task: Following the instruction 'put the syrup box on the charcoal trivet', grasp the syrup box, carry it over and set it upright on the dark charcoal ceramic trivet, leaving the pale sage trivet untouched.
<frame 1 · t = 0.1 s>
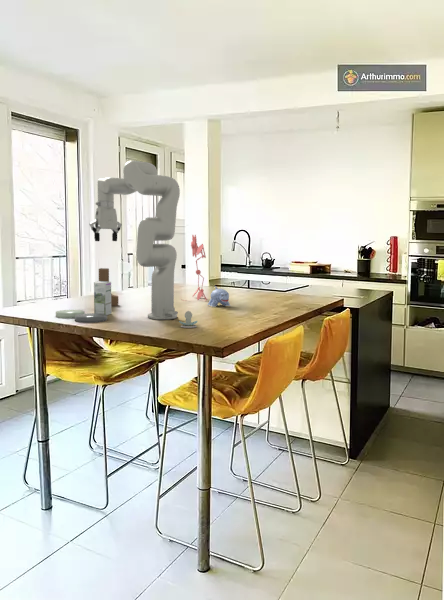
hand: (106, 241, 256), 31 cm above the table, tool pointing down, fingers open, 9 cm apart
charcoal trivet: (91, 320, 219), on the table
pink articulated figure: (192, 299, 289), on the table
hippopotamus toy: (220, 306, 265), on the table
sage trivet: (70, 316, 228), on the table
pacifier: (188, 327, 209), on the table
wooden block: (108, 305, 259), on the table
syrup box: (102, 314, 233), on the table
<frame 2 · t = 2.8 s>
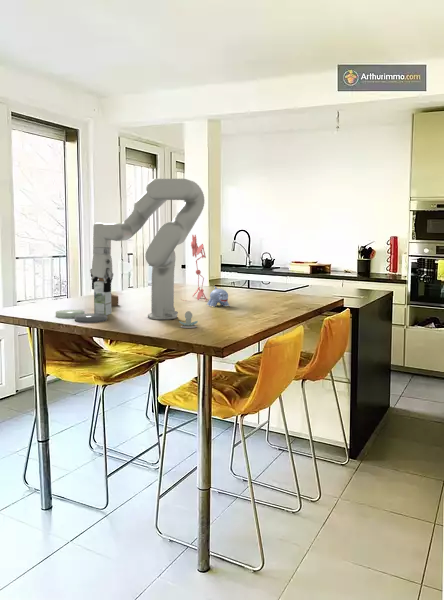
hand: (101, 290, 232), 10 cm above the table, tool pointing down, fingers open, 9 cm apart
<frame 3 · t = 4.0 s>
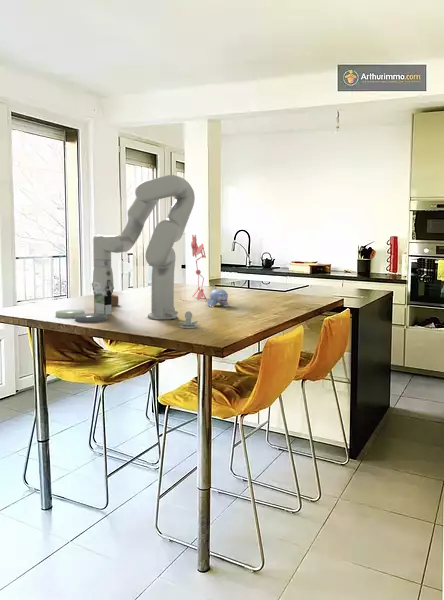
hand: (102, 303, 233), 5 cm above the table, tool pointing down, fingers closed on syrup box, 7 cm apart
syrup box: (102, 314, 233), on the table, touching gripper
everything else where it was.
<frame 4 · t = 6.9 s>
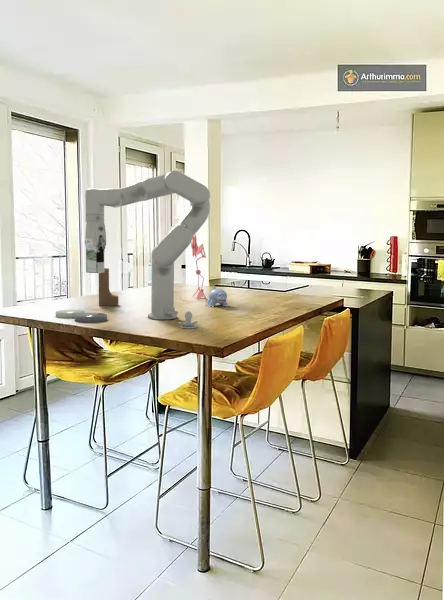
hand: (95, 261, 222), 24 cm above the table, tool pointing down, fingers closed on syrup box, 7 cm apart
syrup box: (95, 273, 222), point 19 cm above the table, touching gripper
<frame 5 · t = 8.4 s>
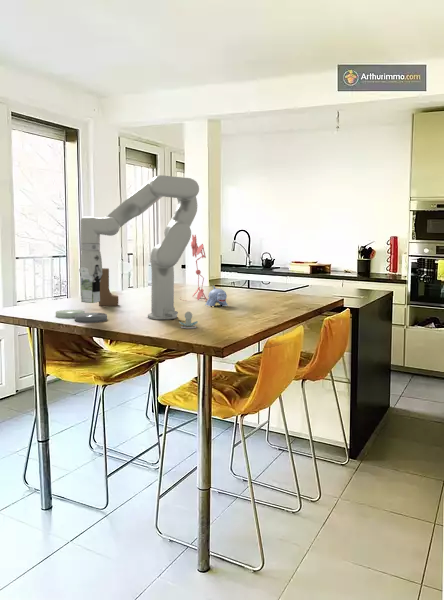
hand: (90, 290, 218), 12 cm above the table, tool pointing down, fingers closed on syrup box, 7 cm apart
syrup box: (90, 302, 218), point 7 cm above the table, touching gripper
when the fingers open (8 cm above the table, at t = 9.9 s): syrup box drops 2 cm, resting on charcoal trivet.
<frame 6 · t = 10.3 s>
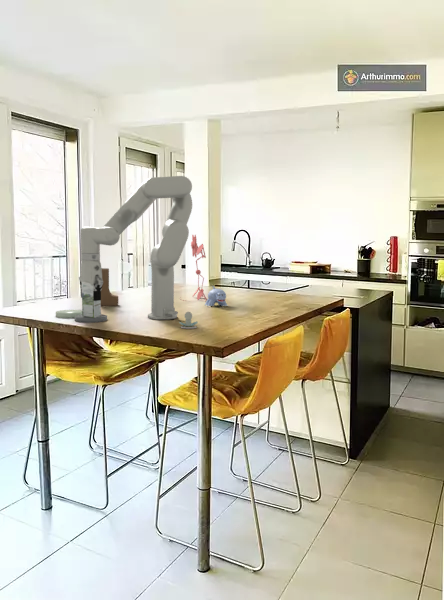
hand: (90, 299, 218), 9 cm above the table, tool pointing down, fingers open, 9 cm apart
charcoal trivet: (91, 321, 220), on the table, touching syrup box
syrup box: (91, 316, 219), point 1 cm above the table, touching charcoal trivet
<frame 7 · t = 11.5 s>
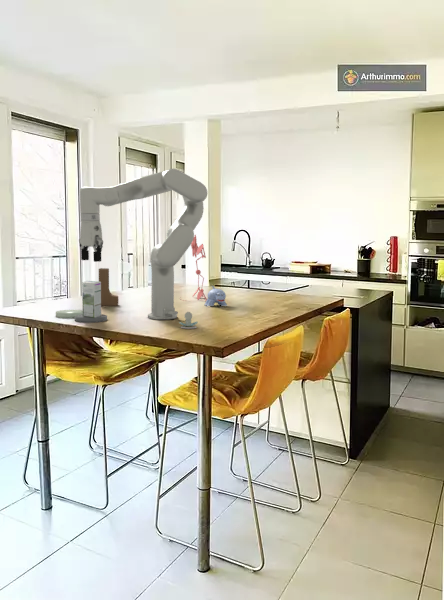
hand: (91, 260, 216), 24 cm above the table, tool pointing down, fingers open, 9 cm apart
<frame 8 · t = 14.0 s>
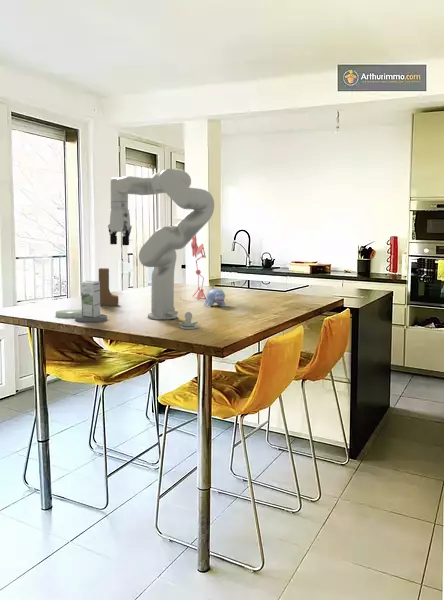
hand: (119, 244, 238), 30 cm above the table, tool pointing down, fingers open, 9 cm apart
at the end: syrup box 0.1 cm off-centre on the charcoal trivet, point 1.8 cm above the charcoal trivet's base; syrup box tilted 1°; sage trivet moved 0.4 cm from its start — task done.
